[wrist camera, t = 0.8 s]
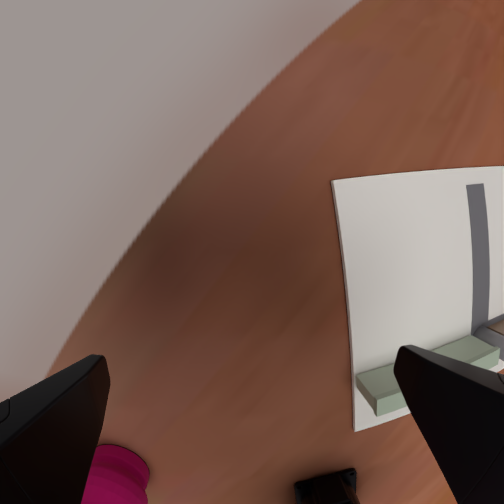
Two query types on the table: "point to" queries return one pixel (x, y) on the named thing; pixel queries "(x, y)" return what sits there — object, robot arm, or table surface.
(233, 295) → the table surface
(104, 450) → the pepper mill
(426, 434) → the robot arm
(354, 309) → the card
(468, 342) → the hinged panel
